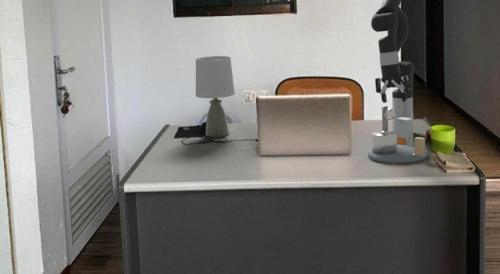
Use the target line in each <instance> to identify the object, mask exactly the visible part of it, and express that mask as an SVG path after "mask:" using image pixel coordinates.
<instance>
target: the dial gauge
mask: <svg viewBox="0 0 500 274" xmlns="http://www.w3.org/2000/svg"><path fill="white" fill-rule="evenodd" d="M395 116H396V113H395V111H394V110H392V108H391V109H390V108H388V106H385V105H382V106H381V127H382V128H381V129H382V130H381V131H389V127H388V126H389V121H392V119H394V118H395Z"/></svg>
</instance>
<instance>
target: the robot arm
mask: <svg viewBox="0 0 500 274" xmlns="http://www.w3.org/2000/svg"><path fill="white" fill-rule="evenodd" d="M402 1H403V0H383V1H382V3H381V5H380V8H378V10H377V11H375V13H374V14H373V16H372V17H371V21H370V22H371V24H370V25H371V29H372V30H373V31H375V32H377V33H382V32H387V35H386V36H383V37H381V38H379V39H378V50H379V63H380V72H381V75H382V76H381V77H376V78H375V79H374V83H375V84H374V85H375V92H376V93H377V94H380V97H381V98H380V99H381V102H382V103H383V104H386V103H388V98H387V90H388V89H390V88H396V89H393V91H392V93H391V97H392V98H391V105H392V106H391V109H392V110H394V111H395V113H396V116H395V118H394V119H392V120H391V121H392V126H391V127H392V128H391V129H392V130H391V132H395V133H397V118H400V117H405V118H412V119H413V120H414V111H413V110H414V109H413V107H414V102H413V101H414V99H413V94H414V92H413V91H414V72H415V70H414V64H413V62H411V61H400V57H399V52H400V50H401V48H402V47H403V45H404V44H405V42H406V40H407V39H408V36H409V32H410V29H409V20H408V16H407V15H406V13H405V12H404V11H403V9H402V8H401V7H400V5H401V3H402ZM381 83H383V86H382V85H381Z"/></svg>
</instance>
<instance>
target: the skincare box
mask: <svg viewBox="0 0 500 274" xmlns="http://www.w3.org/2000/svg"><path fill="white" fill-rule="evenodd" d="M397 145H410V146H414V118H413V119H412V118H405V117H400V118H397Z"/></svg>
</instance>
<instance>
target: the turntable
mask: <svg viewBox="0 0 500 274" xmlns="http://www.w3.org/2000/svg"><path fill="white" fill-rule="evenodd" d="M367 153H368V155H367V156H368V159H369V160H372V161H374V162H377V163H382V164H384V163H385V164H394V165H396V164H397V165H398V164H399V165H400V164H403V165H404V164H413V163H418V162H422V161H424V160H425V161H426V159H428V157H429V151H428V150H427V149H426V138H425V137H418V136H417V137H414V145H413V146H410V145H397V152H396V153H394V154H388V155H380V154H375V153H373V152H372V148H370V149H369V150H368V152H367Z"/></svg>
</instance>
